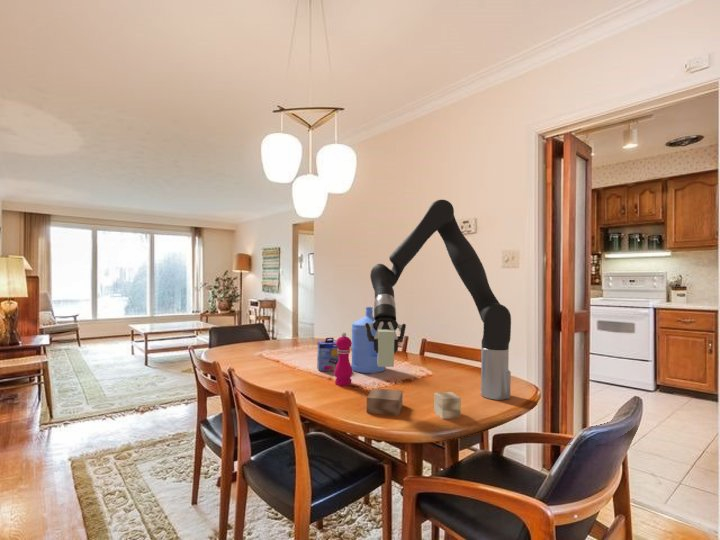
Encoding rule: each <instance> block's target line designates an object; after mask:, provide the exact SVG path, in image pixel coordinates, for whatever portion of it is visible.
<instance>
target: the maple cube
mask: <svg viewBox="0 0 720 540" xmlns="http://www.w3.org/2000/svg"><path fill="white" fill-rule="evenodd" d="M461 403H462V398H461V397H460V396H459V395H457V394H455V393H454V392H452V391H443V392H434V393H433V412H434V413H435V414H436V415H437V416H438V417H440V418H441V419H442V420H446V419H458V418H461V417H462V416H461V412H462V411H461V409H462V408H461V407H462V404H461Z"/></svg>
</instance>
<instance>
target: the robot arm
mask: <svg viewBox="0 0 720 540" xmlns="http://www.w3.org/2000/svg"><path fill="white" fill-rule="evenodd" d="M454 209H455V208H454V206H453V204H452V203H451V202H450V201H449V200H447V199H437V200H435V201H433V202H431V204H430V206H429V207H428V210H427V211H426V213H425V214H424V215H423V218H422V219H421V220H420V221H419V223H418V224H417V225H416V227H415V228H414V229H413V230H412V231H411V232H410V233H409V235H407V236H406V238H405V239H404V240H402V242H401V243H400V244H399V245H398V246H397V247H396V248H395V250H393V252H391V254H390V255H389V258H388V259H389V261H390V263H391V264H392V268H391V269H390V268H389V267H388V266H387V265H385V264H383V263H377V264H375V265H374V266H373V267H372V268H371V271H370V274H369V275H370V281H371V285H372V288H373V291H374V304H373V317H374V322H373V324H368V323H366V324H365V330H366V334H367V337H368V341H369V342H371V341H372V342H374V351H376V353H378V330H381V329H388V330H394V354H396V353H397V352H398V351H399V343H403V341H404V337H405V334H406V333H405V332H406V327H407V325H406V323H402V324H399V323H398V321H397V310H396V309H397V308H396V302H395V291H394V290H395V289H394V287H395V286H396V284H397V282H398V281H399V278H400V277H401V275H402V273H403V272H404V270H405V268H406V266H407V265H408V264H409V263H411V261H412V260H413V259H414V258H415V256H417V254H418V253H419V252H420V250H421V249H422V248H423V246H424V245H425V244H426V243H427V241H428V239H430V238H431V237H432V236H433V235H434V234H435V233H436V232H438V234H439V235H440V237H441V238H442V239H441V240H442V241H443V243H444V245H445V249H446V251H447V253H448V256H449V258H450V261H451V262H452V265H453V267H454V269H455V271H456V273H457V274H458V276H459V278H460V280H461V282H462V283H463V285H464V286H465V289H467V291H468V292H469V294H470V296H471V298H472V299H473V301H474V304H475V306H476V309H477V311H478V314H479V317H480V319H481V321H482V323H483V332H482V334H483V335H482V339H481V354H480V355H481V360H480V361H481V362H480V363H481V365H480V366H481V367H480V368H481V369H480V371H481V372H480V373H481V374H480V375H481V376H480V396H482V397H483V398H486V399H490V400H494V401H495V400H496V401H498V400H499V401H501V400H507V399H509V400H510V399H511V383H512V382H511V381H512V380H511V379H512V378H511V377H512V376H511V373H512V372H511V371H510V370H509V368H510V367H509V364H510V363H509V359H510V358H509V357H510V356H509V355H510V353H509V351H510V342H511V336H512V335H511V332H512V331H511V330H512V316H511V312H510V310H509V309H508V308H507V307H506V306H505V305H503V304H501V303H500V302H499V300H498V298H497V297H496V295H495V294H494V292H493V290H492V289H491V286H490V283H489V280H488V276H487V273H486V271H485V267H484V265H483V263H482V261H481V259H480V258H479V255H478V253H477V252H476V251H475V248H474V247H473V246H472V244H471V243H470V241H468V239H467V238H466V236H465V235H464V234H463V232H462V230H461V229H460V226H459V225H458V221H457V220H456V216H455V215H454V214H455V210H454ZM372 328H374V329H375V330H376V334H375V336H372V333H371V330H372ZM396 330H398V331H399V332H400V333H399V336H397V332H396Z"/></svg>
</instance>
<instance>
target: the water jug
mask: <svg viewBox="0 0 720 540" xmlns="http://www.w3.org/2000/svg"><path fill="white" fill-rule="evenodd" d="M373 322H374V306H373V307H371V306H366V307H365V316H363V317H362V318H360V319H357V320H356V321H354V322H352V324H351V343H352V344H351V347H350V350H351V363H350V365H351V367H352V370H353V371H354V372H356V373H359V372H361V373H360V374H377V373H376V372H379V373H382V372H384V371H386V368H387V367H378V363H377V360H378V353H376V351H374V342H372V341H371V342H369V341H368V337H367V334H366V330H365V324H366V323H368V324H373ZM371 333H372V336H375V334H376V330H375V329H374V328H372V330H371ZM381 371H382V372H381Z"/></svg>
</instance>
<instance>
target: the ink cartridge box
mask: <svg viewBox="0 0 720 540" xmlns="http://www.w3.org/2000/svg"><path fill="white" fill-rule="evenodd" d="M336 342H337V340H334V337H326V338H325V340H324V341H317V357H316V359H317V365H316V368H317V370H318V372H323V371H324V372H325V371H327V372H328V371H335V367H336V365H337V363H338V359H339V354H338V347H337V345H336Z"/></svg>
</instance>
